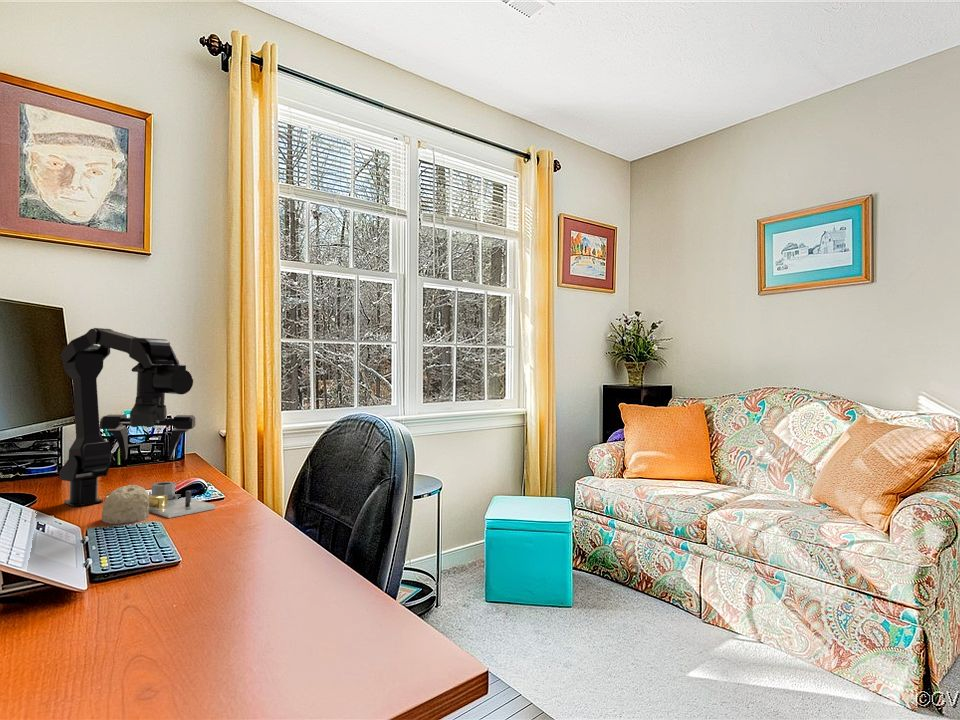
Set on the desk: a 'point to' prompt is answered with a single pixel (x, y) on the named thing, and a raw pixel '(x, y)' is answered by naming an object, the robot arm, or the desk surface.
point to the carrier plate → (177, 505)
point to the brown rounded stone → (126, 505)
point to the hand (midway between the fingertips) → (147, 458)
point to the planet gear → (165, 490)
